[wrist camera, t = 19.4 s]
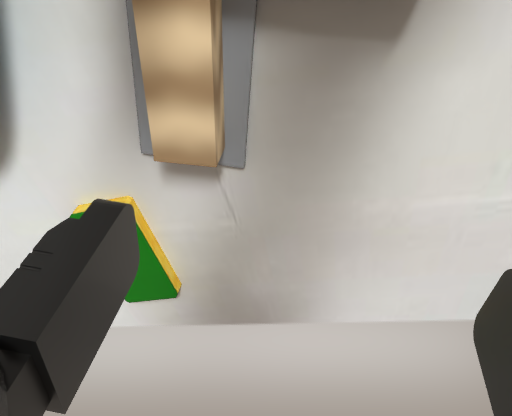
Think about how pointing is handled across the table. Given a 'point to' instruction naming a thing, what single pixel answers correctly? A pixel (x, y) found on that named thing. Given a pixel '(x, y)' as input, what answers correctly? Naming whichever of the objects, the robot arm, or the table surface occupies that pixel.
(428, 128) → the table surface
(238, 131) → the slate mat
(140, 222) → the dish sponge
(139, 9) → the oak block
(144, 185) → the table surface
